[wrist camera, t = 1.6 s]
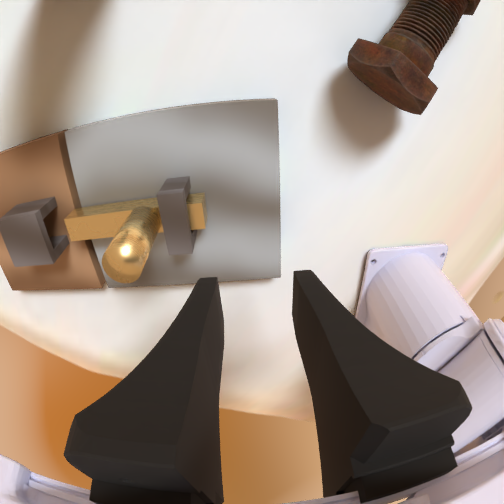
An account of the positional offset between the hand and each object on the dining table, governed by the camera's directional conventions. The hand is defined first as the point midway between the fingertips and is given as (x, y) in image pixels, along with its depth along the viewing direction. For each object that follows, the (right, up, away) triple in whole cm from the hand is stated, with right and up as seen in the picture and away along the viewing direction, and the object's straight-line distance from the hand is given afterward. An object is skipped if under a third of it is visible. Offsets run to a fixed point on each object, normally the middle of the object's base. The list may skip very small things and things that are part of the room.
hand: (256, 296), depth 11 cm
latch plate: (-11, +5, +9) cm, 14 cm away
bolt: (+11, +18, +2) cm, 21 cm away
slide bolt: (-7, +4, +7) cm, 11 cm away
